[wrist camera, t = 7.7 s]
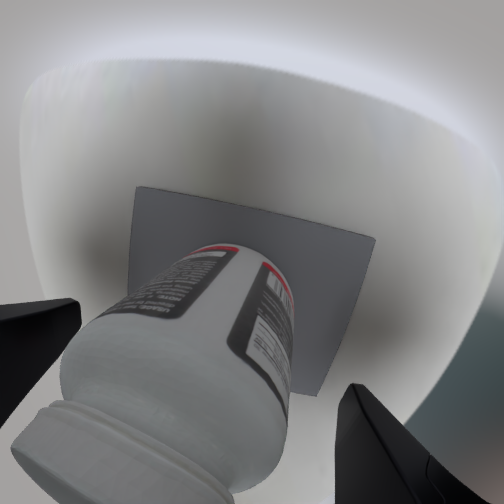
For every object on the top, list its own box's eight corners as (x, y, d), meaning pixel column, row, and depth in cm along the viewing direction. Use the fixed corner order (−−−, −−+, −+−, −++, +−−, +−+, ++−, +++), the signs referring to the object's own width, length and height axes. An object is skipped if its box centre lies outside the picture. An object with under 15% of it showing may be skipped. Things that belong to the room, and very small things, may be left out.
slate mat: (316, 391, 12) (316, 396, 12) (132, 338, 13) (128, 342, 13) (373, 237, 10) (375, 239, 10) (141, 186, 11) (136, 186, 11)
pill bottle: (162, 330, 12) (27, 482, 3) (186, 222, 11) (-60, 332, 2) (269, 372, 12) (220, 578, 3) (315, 268, 11) (346, 555, 1)
